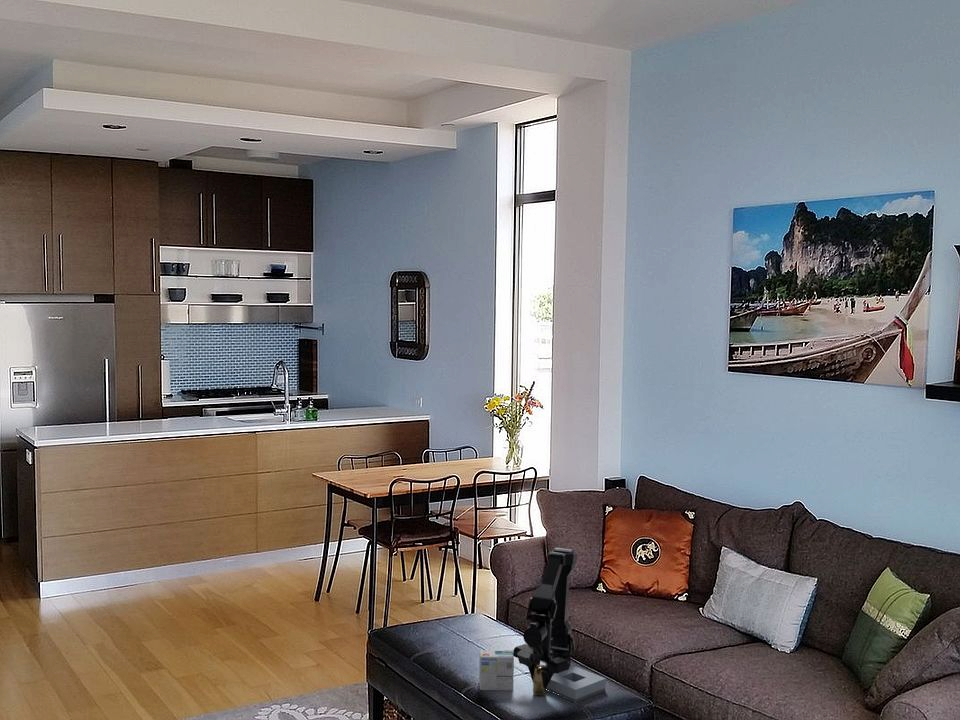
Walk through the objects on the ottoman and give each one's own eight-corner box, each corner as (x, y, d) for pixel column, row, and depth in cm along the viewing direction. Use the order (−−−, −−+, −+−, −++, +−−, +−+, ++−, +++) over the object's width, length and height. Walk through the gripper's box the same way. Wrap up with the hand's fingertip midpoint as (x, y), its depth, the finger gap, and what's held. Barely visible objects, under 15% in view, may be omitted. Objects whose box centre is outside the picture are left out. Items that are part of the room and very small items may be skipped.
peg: (530, 692, 316) (531, 666, 315) (539, 688, 319) (540, 663, 318) (539, 696, 313) (540, 670, 312) (548, 693, 316) (549, 667, 315)
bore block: (541, 688, 321) (541, 675, 320) (571, 677, 330) (571, 665, 330) (575, 702, 311) (575, 689, 310) (605, 690, 320) (605, 678, 320)
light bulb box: (512, 682, 325) (513, 649, 324) (513, 691, 318) (514, 657, 317) (478, 682, 324) (479, 648, 323) (479, 690, 318) (480, 656, 317)
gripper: (501, 633, 316) (499, 682, 317) (545, 650, 302) (543, 702, 303) (526, 625, 323) (525, 673, 324) (571, 642, 310) (569, 692, 311)
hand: (539, 685), depth 316 cm, fingers closed on peg, 4 cm apart
